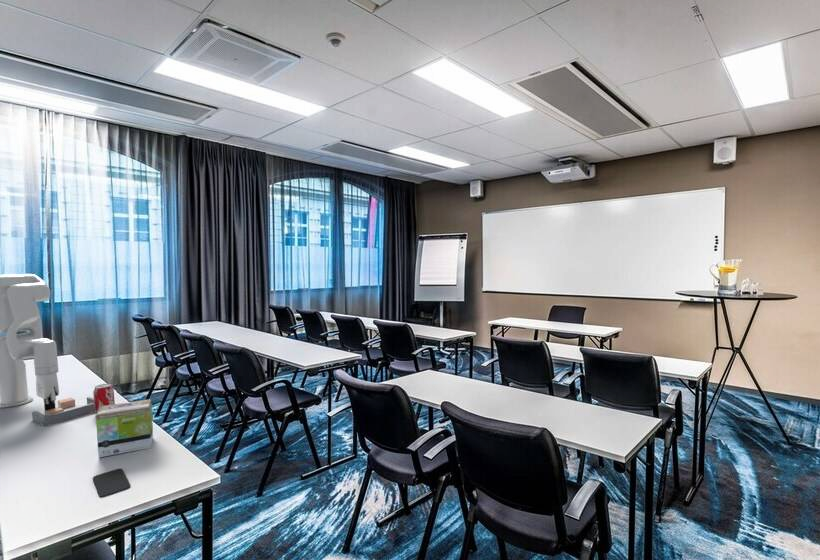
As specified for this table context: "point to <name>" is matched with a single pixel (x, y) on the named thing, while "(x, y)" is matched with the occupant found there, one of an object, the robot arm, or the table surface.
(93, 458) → the table surface
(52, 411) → the light orange-brown block
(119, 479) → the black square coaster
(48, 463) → the table surface
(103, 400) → the soda can
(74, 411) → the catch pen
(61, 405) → the peach rectangular block
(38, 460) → the table surface
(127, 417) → the tea box
